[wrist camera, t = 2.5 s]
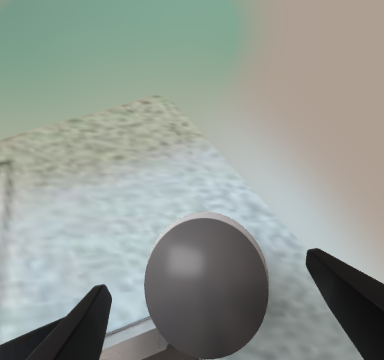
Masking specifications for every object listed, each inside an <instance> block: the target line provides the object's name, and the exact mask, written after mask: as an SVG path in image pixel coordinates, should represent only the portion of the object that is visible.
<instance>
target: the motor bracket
mask: <svg viewBox="0 0 384 360" xmlns="http://www.w3.org/2000/svg"><path fill="white" fill-rule="evenodd" d="M99 360H199V359H198V358H196V357H192V356H189V355H187V354H184V353H183V352H181V351H179V350H177V349H176V348H175V347H173V346H172V345H171V344H169V343H168V342H167V341H166V340H165V339H164V338H163V336H162V335H161V334H160V332H159V331H158V330H157V328H156V326H155V325H154V323H153V321H152V319H151V316H149V317H147V318H144V319H142V320H139V321H137V322H134V323H132V324H129V325H127V326H124V327H122V328H120V329H117V330H115V331H112V332H110V333H107V334H106V335H105V340H104V344H103V348H102V352H101V356H100V359H99Z"/></svg>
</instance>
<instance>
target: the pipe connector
mask: <svg viewBox="0 0 384 360" xmlns="http://www.w3.org/2000/svg"><path fill="white" fill-rule="evenodd" d="M64 318H65V317H64ZM64 318H61V319H59V320H57V321H54V322H52V323H50V324H47V325H45V326H43V327H40V328H38V329H36V330H33V331H31V332H29V333H27V334H24V335H22V336H20V337H17V338H15V339H13V340H11V341H8V342H6V343H4V344H2V345H0V360H26V359H27V358H28V357H29V356H30V355H31V354H32V352H33V351H34V350H35V349H36V348H37V347H38V346H39V345H40V344H41V343H42V342H43V341H44V340H45V339H46V337H47V336H48V335H49V334H50V333H51V332H52V331H53V330H54V329H55V328H56V327H57V326H58V325H59V324H60V323H61V321H62V320H63V319H64Z"/></svg>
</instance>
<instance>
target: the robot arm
mask: <svg viewBox="0 0 384 360" xmlns="http://www.w3.org/2000/svg"><path fill="white" fill-rule="evenodd" d="M306 267H307V269H308V271H309V273H310V274H311V276H312V278H313V280H314V282H315V284H316V285H317V287H318V289H319V291H320V293H321V294H322V296H323V298H324V300H325V301H326V303H327V305H328V307H329V308H330V310H331V311H332V313H333V314H334V316H335V317H336V319H337V320H338V322H339V323H340V325H341V326H342V328H343V329H344V331H345V332H346V334H347V335H348V337H349V338H350V339H351V341H352V342H353V344H354V345H355V347H356V348H357V350H358V351H359V353H360V354H361V356H362V357H363V359H364V360H384V284H383V283H381V282H379V281H377V280H375V279H374V278H372V277H370V276H368V275H366V274H364V273H363V272H361V271H359V270H357V269H355V268H353V267H352V266H350V265H348V264H346V263H344V262H342V261H341V260H339V259H337V258H335V257H333V256H331V255H330V254H328V253H326V252H324V251H322V250H320V249H318V248H314V249H309V250H308V251H307V256H306ZM111 303H112V297H111V294H110V292H109V290H108V288H107V287H106V285H104V284H102V285H97V286H95V287H93V288H92V289H91V290H90V292H89V293H88V294H87V295H86V296H85V297H84V298H83V299H82V300H81V301H80V302H79V303H78V304H77V305H76V306H75V308H74V309H73V310H72V311H71V312H70V313H69V314H68V315H67V316H66V317H65V318H64V319H63V320H62V321H61V323H60V324H59V325H58V326H57V327H56V328H55V329H54V330H53V331H52V332H51V333H50V334H49V335H48V336H47V337H46V339H45V340H44V341H43V342H42V343H41V344H40V345H39V346H38V347H37V348H36V349H35V350H34V351H33V352H32V354H31V355H30V356H29V357H28V358H27V359H26V360H99V359H100V356H101V352H102V348H103V344H104V340H105V335H106V330H107V324H108V319H109V313H110V308H111Z"/></svg>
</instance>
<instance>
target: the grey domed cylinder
mask: <svg viewBox="0 0 384 360" xmlns="http://www.w3.org/2000/svg"><path fill="white" fill-rule="evenodd" d="M144 287H145V298H146V304H147V307H148V311H149V314H150V316H151V319H152V321H153V323H154V325H155V326H156V328H157V330H158V331H159V332H160V334H161V335H162V336H163V338H164V339H165V340H166V341H167V342H168V343H169V344H171V345H172V346H173V347H175V348H176V349H177V350H179V351H181V352H183V353H184V354H187V355H189V356H192V357H196V358H201V359H217V358H222V357H225V356H228V355H231V354H233V353H235V352H236V351H238V350H240V349H241V348H242V347H244V346H245V345H246V344H247V343H248V342H249V341H250V340H251V339H252V338H253V336H254V335H255V334H256V332H257V331H258V329H259V327H260V325H261V323H262V321H263V318H264V315H265V312H266V308H267V303H268V272H267V266H266V263H265V259H264V256H263V254H262V251H261V249H260V247H259V246H258V244H257V242H256V241H255V239H254V238H253V237H252V235H251V234H250V233H249V232H248V231H247V230H246V229H245V228H244V227H243V226H242V225H240V224H239V223H237V222H236V221H235V220H233V219H231V218H229V217H227V216H224V215H221V214H217V213H211V212H198V213H193V214H189V215H186V216H184V217H182V218H179V219H178V220H176V221H174V222H173V223H172V224H170V225H169V226H168V227H167V228H166V229H165V230H164V231H163V232H162V233H161V235H160V236H159V237H158V239H157V241H156V242H155V244H154V246H153V248H152V251H151V253H150V256H149V260H148V264H147V268H146V273H145V283H144Z"/></svg>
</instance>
